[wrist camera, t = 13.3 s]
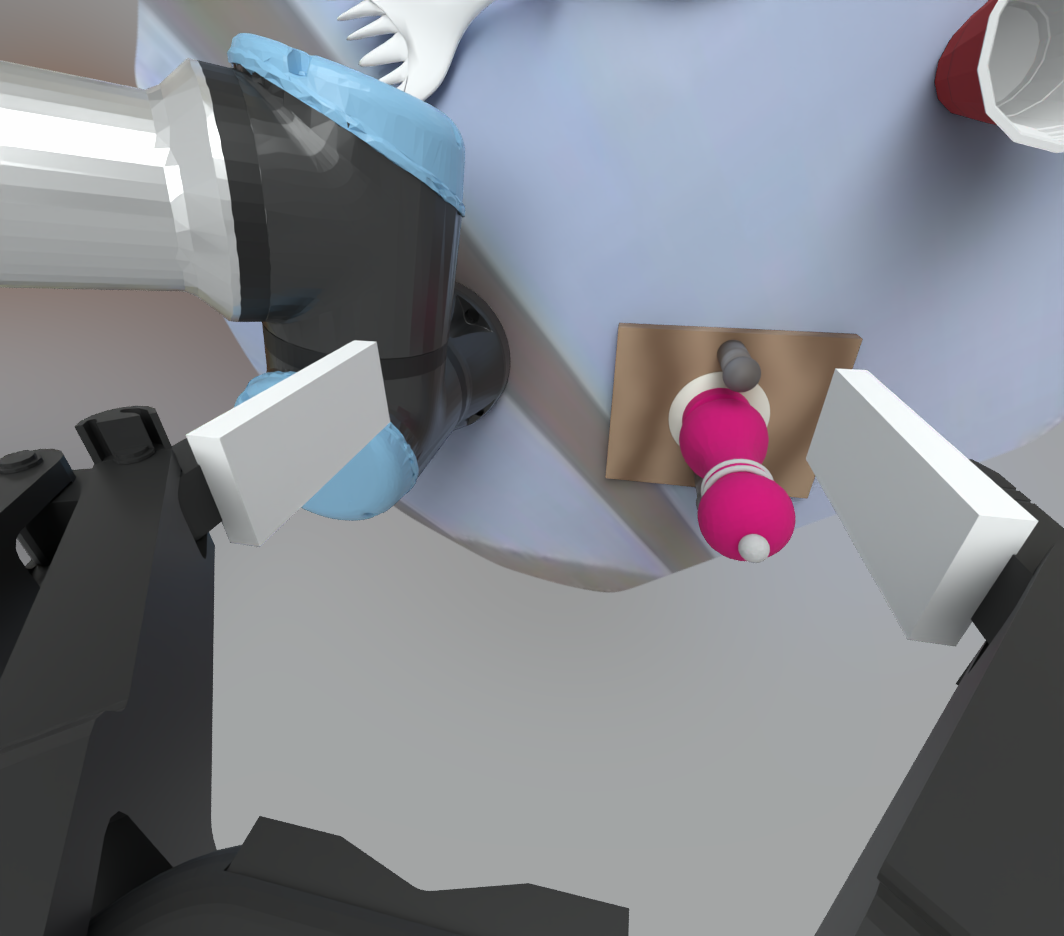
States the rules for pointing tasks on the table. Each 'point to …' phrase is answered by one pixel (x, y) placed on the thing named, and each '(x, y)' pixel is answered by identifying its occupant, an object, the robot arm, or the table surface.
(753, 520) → the pepper mill
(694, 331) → the holder
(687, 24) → the table surface
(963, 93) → the plastic cup
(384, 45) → the spoon
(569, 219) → the table surface
